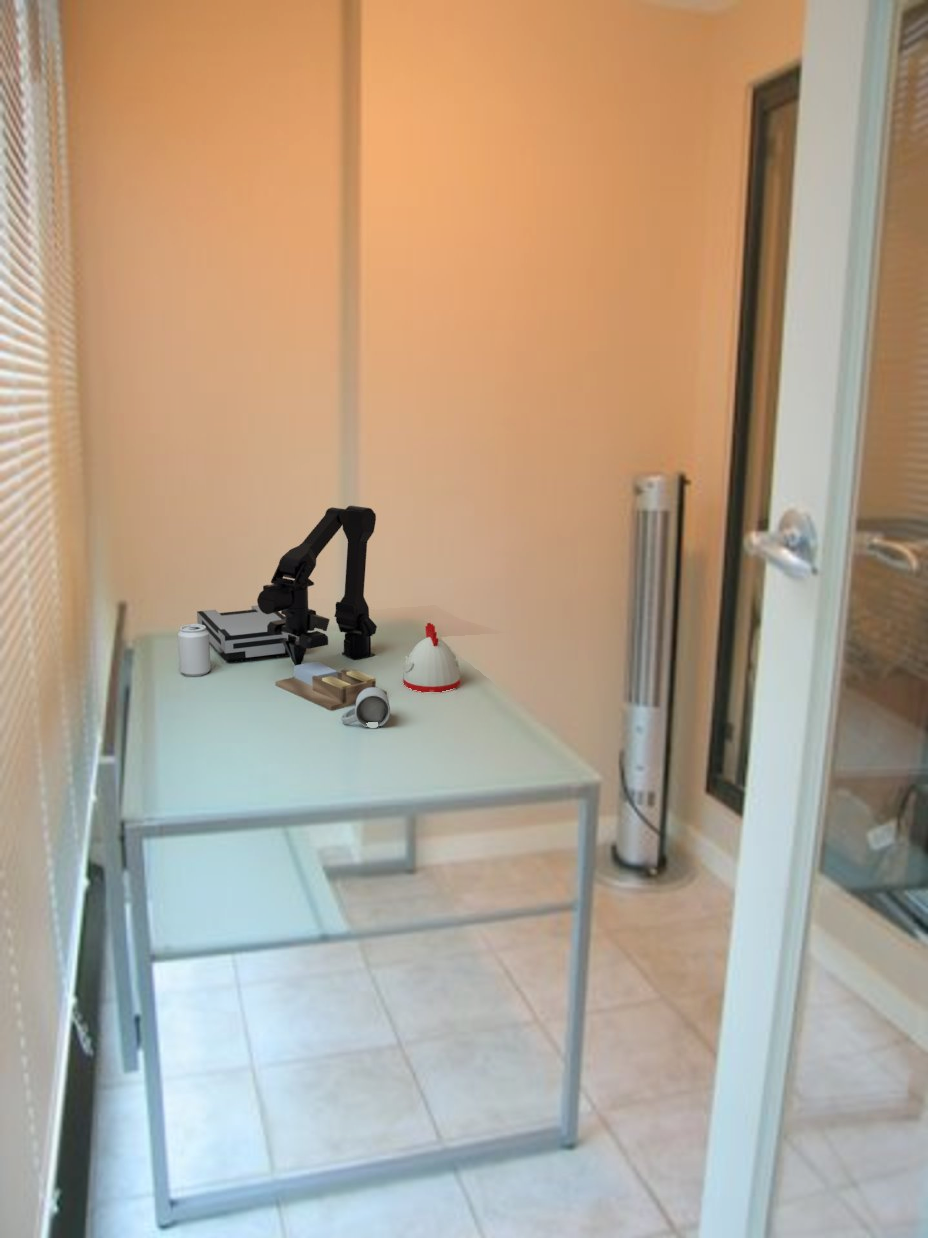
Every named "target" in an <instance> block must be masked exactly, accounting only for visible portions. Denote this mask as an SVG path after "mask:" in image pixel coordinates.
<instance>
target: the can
mask: <svg viewBox="0 0 928 1238" xmlns="http://www.w3.org/2000/svg"><path fill="white" fill-rule="evenodd" d="M177 643H178V660H179V661H178V663H179V671H180V673H182V674H183V675H184V674H185V675H184V676H186V677H201V676H204V675H206V674H208V672H210V671H211V669H212V667H211V666H212V665H211V649H210V646H211V644H210V643H209V632H208V631H207V630H206V626H204V625H201V624H198V623H192V624H191V623H190V624H185V625H182V626H180V627H179V632H178V633H177Z"/></svg>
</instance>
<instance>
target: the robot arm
mask: <svg viewBox="0 0 928 1238" xmlns="http://www.w3.org/2000/svg"><path fill="white" fill-rule="evenodd" d="M376 521H377V514H376V513H375V511H374V510H373V508H370V507H367V506H366V507H365V506H356V505H348V506H347V507H346V508H340V507H330V508H327V509H326V510H325V514H324V516H323V517H322V518H321V519H320V520H319V522H318V523H317V524H316V526H314V527H313V529H312V530H311V532H309V534H308V535H307V536H306V537H305V539H304V540H303V541H302V542H301V543H300V544H299V545H297V546H295V547H292V548H291V549H289V550H288V551H287V552H286V553H285V554H283V555H282V556H281V557H280V559H279V562H278V564H277V567H276V568H275V572H274V574H273V575H272V578H271V580H270V583H271V584H264V585H263V586H262V587H263V588H262V590H261V591H260V592H259V594H258V597H257V600H256V602H257V603H256V604H257V605H258V606H259V608H260V610H261V611H262V612H263V613H265V614H271V613H275V612H280V613H281V614H282V615H283V616H284V617H285V619H282V620H277V621H272V622H270V623H269V624H268V626H267V633H269V634H271V635H275V634H276V632H277V631H281V633H283V638H281V639H280V641H281V642H282V643H283V645H284V646H285V648H286V650H287V652H288V653H289V655H290V656H289V658H290V659H291V661H292V663H293V665H294V666H296V665H300V664H303V661H304V658H305V655H306V652H307V650H308V649H309V650H310V649H315V648H320V647H324V646H329V636H328V635H326V633H324V632H327V630H328V627H329V624H330V618H327V617H325V616H322V615H320V614H317V611H316V610H314V609H311V608H309V589H308V588H309V587H312V586H314V585H315V583H314V582H313V580H311V579H310V576H311V575H312V573H313V571H314V570H315V568H316V567H317V558H318V556H319V555H320V554H321V553H322V551H324V549H325V547H326V546H327V545H328V544H329V543H330V541H331V540H332V539H333V538H334V536H336V533H338V531H340V529H341V528H342V530H343V533H344V535H345V537H346V539H347V549H346V565H345V581H344V594H343V597H341V600H340V601H336V603H335V613H334V618H335V621H336V624H337V626H338V630H339V632H340V633H344V639H343V652H341V655H342V656H344V657H346V658H347V657H348V658H350V659H352V660H361V659H365V658H369V657H374V656H375V653H374V652H372V648H371V647H372V646H371V645H372V643H371V642H372V637H373V635H376V633H377V627H378V626H377V625H376V623H375V622H374V621H373V620H372V619H371V618H370V607H369V605H368V603H367V601H366V599H365V580H366V579H365V578H366V566H367V565H366V563H367V549H368V548H367V547H368V542H369V540H370V538H371V537H372V535H373V534H374V533H375V528H376V527H375V526H376ZM315 629H316V630H315ZM317 629H318V630H319V631H318V630H317ZM320 630H322V631H323V632H321V631H320Z"/></svg>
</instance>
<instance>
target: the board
mask: <svg viewBox="0 0 928 1238" xmlns="http://www.w3.org/2000/svg"><path fill="white" fill-rule="evenodd" d="M376 679H377V678H376V677H373V676H370V675H369V674H366V673H363V672H360V671H358V670H356V669H355V670H350V669H347V668H342V669H341V672H339V671H338V679H337V678H334V677H332V676H329V677H325V678H320V677H318V676H312V685H313V686H311V685H309V684H307V683H305V682H303V681H301V680H299V679H297V678H295V676H293V677H288V678H285V679H284V678H283V679H280V680H276V681H275V686H276V687H278V688H281V689H282V690H285V691H287V692H289V693H291V694H293V695H296V696H298V697H301V698H303V699H304V700H307V701H309V702H311V703H313V704H315V705H318V706H320V707H322V708H324V709H327V710H329V711H330V712H331V711H334V710H338V709H339V710H340V709H342V708H347V707H350V706H354V705H356V699H357V697H358V695H359V694H360V693H361V692H362V691H363V690H364V689H366V688H370V687H375V688H378V687H377V686H376V683H377V682H376V681H377V680H376ZM380 689H381V688H380ZM381 690H382V691H383V692H384V693H385V694H386V695H388V694H387V693H388V692H387V691H386V690H384V689H381Z"/></svg>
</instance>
